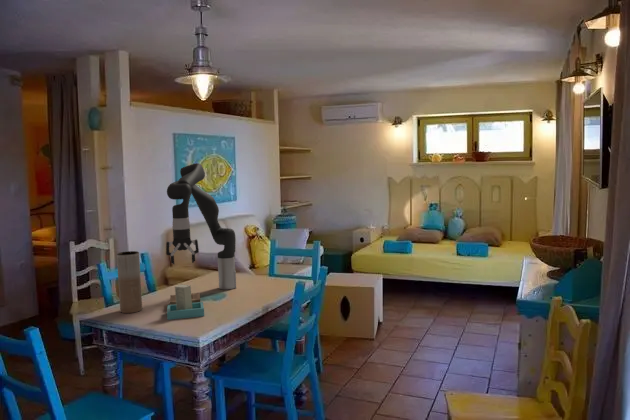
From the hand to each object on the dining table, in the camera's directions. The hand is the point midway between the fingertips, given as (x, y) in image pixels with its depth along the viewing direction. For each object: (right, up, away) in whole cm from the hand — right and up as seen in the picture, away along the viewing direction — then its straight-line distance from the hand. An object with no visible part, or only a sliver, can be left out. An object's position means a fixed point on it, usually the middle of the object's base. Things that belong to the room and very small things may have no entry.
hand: (183, 263), depth 232 cm
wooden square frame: (-3, -22, +17) cm, 29 cm away
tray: (+1, -24, +2) cm, 24 cm away
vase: (-28, -24, +11) cm, 38 cm away
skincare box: (0, -23, +2) cm, 23 cm away
